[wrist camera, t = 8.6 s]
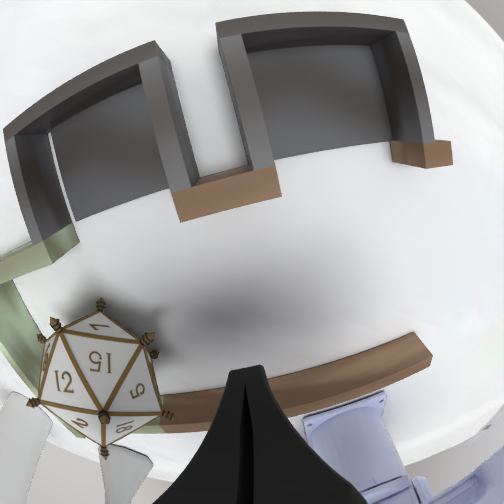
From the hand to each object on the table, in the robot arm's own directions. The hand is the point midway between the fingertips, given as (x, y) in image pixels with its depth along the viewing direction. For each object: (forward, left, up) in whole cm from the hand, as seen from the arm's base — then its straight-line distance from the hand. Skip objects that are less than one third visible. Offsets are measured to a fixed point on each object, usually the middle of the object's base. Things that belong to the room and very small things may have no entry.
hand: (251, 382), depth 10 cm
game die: (0, +9, -6) cm, 10 cm away
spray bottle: (-10, +30, -6) cm, 32 cm away
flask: (-19, +20, -6) cm, 28 cm away
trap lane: (+3, +3, -6) cm, 7 cm away
